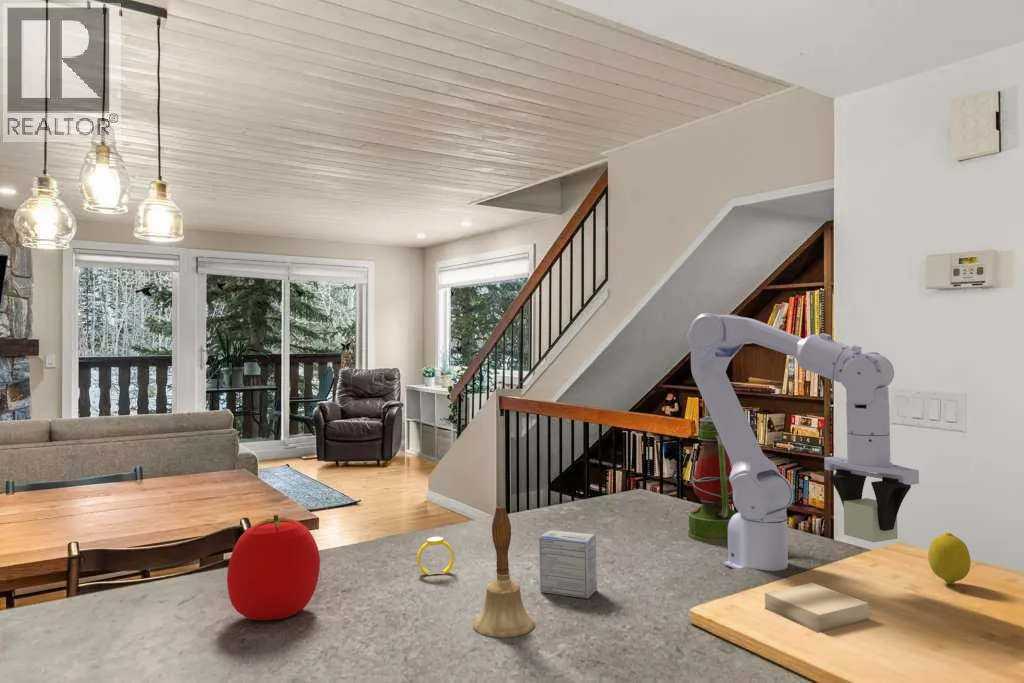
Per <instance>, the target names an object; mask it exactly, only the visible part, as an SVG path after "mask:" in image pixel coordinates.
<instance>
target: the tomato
mask: <svg viewBox="0 0 1024 683" xmlns="http://www.w3.org/2000/svg"><path fill="white" fill-rule="evenodd" d="M314 537H315V536H313V534H312V533H311V531H310V530H309V529H308V527H307V526H305V525H304V524H303V523H302V522H301V521H299V520H296V519H295V520H294V519H291V518H289V517H288V516H287V517H285V516H283V517H279V515H278V514H274V515H273V518H266V519H262V520H260V521H258V522H257V523H256V524H253V525H252V526H250V527H249V528H247V529H246V530H245V531H244V532H243V533H242V534H241V536H240V537H239V538H238V540H237V541H236V543H235V545H234V547H233V550H232V552H231V556H230V557H229V561H228V562H229V563H228V566H227V576H226V583H227V584H226V585H227V593H228V597H229V600H230V603H231V605H232V607H233V608H234V609H235V611H236V613H239V614H240V615H242V616H243V617H245V618H247V619H251V620H255V621H271V620H272V621H275V620H283V619H287V618H290V617H292V616H294V615H296V614H298V613H300V612H301V611H303V610H304V608H305V607H306V606H307V605H308V604H309V603H310V601H311V599H312V598H313V595H314V594H315V592H316V591H315V590H316V588H317V585H318V581H319V576H320V570H321V568H320V567H321V557H320V550H319V547H318V545H317V542H316V540H315V538H314Z"/></svg>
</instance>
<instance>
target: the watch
mask: <svg viewBox="0 0 1024 683" xmlns="http://www.w3.org/2000/svg"><path fill="white" fill-rule="evenodd" d="M440 545H443V546H445V547H447V549H448V550H449V553H450V560H449V563H448V565H447V566H446V567H445V568H444V569H443V570H442V571H444V573H446V574H447V573H448V572H449V571H450V570H451V569H452V567H453V565H454V562H455V555H454V553H455V552H454V551H453V549H452V547H451V545H450V543H448V542H447V541H445V539H444V537H442V536H432V537H429V538H427V539H426V542H424V543H423V544H422V545H421V547H420V548H419V549H418V552H417V560H416V561H417V565H418V567H419V569H420V571H421V572H422V573H423V574H424V575H426V574H428V572H429V571H428V570H426V569H425V568H424V567H423V565H422V563H421V558H422V557H421V555H422V553H423V551H424V550H425V549H426V548H427V547H429V546H440Z"/></svg>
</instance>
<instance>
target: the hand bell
mask: <svg viewBox="0 0 1024 683" xmlns="http://www.w3.org/2000/svg"><path fill="white" fill-rule="evenodd" d="M506 509H507V508H506V506H504V505H498V506H495V511H494V515H493V518H492V523H491V535H492V536H491V537H492V542H493V545H494V546H493V547H494V550H495V555H496V571H495V572H496V579H495V580H493V581H492V582H489V583H488V584H487V586H486V592H485V600H484V604H483V608H482V610H481V612H480V613H479V614H478V615H477V617H475V618H474V621H473V624H472V628H473V629H474V632H477V633H479V634H480V635H482V636H485V637H491V638H500V639H501V638H503V639H504V638H514V637H519V636H520V637H521V636H522V635H526V634H528V633H530V632H531V631H532V630H533V629H534V628H535V621H534V618H533V617H532V616H531V615H530V614H529V613H528V612H527V610H526V609H525V606H524V603H523V600H522V594H521V588H520V585H519V583H518V582H516V581H513V580H512V579H511V577H510V568H509V548H510V544H511V539H512V525H511V521H510V517H509V515H508V512H507V510H506Z"/></svg>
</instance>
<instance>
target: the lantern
mask: <svg viewBox="0 0 1024 683" xmlns="http://www.w3.org/2000/svg"><path fill="white" fill-rule="evenodd" d="M699 421H700V423H699V431H698V432H699V436H698V437H697V439H698V440H700V441H702V446H701V448H700V451H699V455H698V458H697V463H696V467H695V472H694V474H693V475H692V476H691V483H692V486H693V491H694V494H695V496H697V497H699V499H700V501H701V502H702V505H700V506H698V507H695V508H693V509H692V510H690V512H688V530H687V534H688V535H687V538H689V539H691V540H692V541H697V542H700V543H706V544H713V545H715V544H717V545H720V544H721V545H726V544H727V545H728V524H729V521H730V519H731V518H732V516H733V515H735V514H736V513H738V512H737V511H736V510H734V509H732V508H730V504H729V499H731V498H733V489H732V485H731V483H730V481H729V477H730V474H731V471H732V463H731V461H730V459H729V456H728V454H727V452H726V450H725V447H724V445H723V443H722V441H721V438H720V436H719V434H718V431H717V429H716V427H715V425H714V422H713V420H712V418H711V416H710V415H708V409H707V407H706V404H705V403H704V417H702V418H700V419H699Z"/></svg>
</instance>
